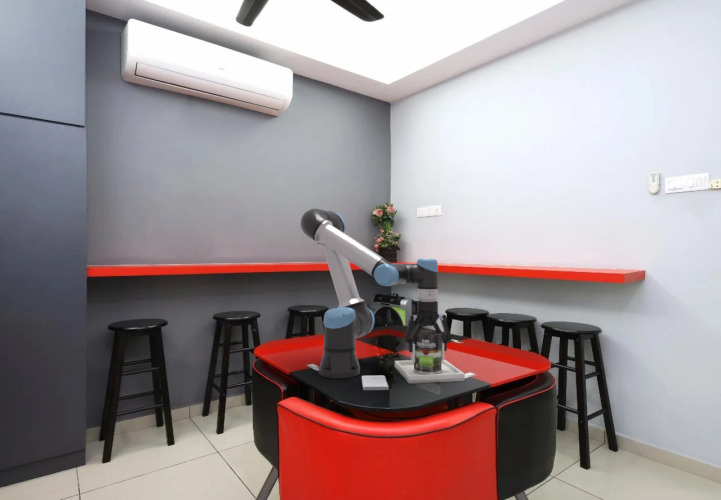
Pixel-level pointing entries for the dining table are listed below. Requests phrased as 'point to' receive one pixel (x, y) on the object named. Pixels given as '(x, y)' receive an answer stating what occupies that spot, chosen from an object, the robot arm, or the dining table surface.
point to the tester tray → (446, 375)
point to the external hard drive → (374, 383)
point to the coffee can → (428, 352)
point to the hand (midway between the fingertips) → (427, 360)
